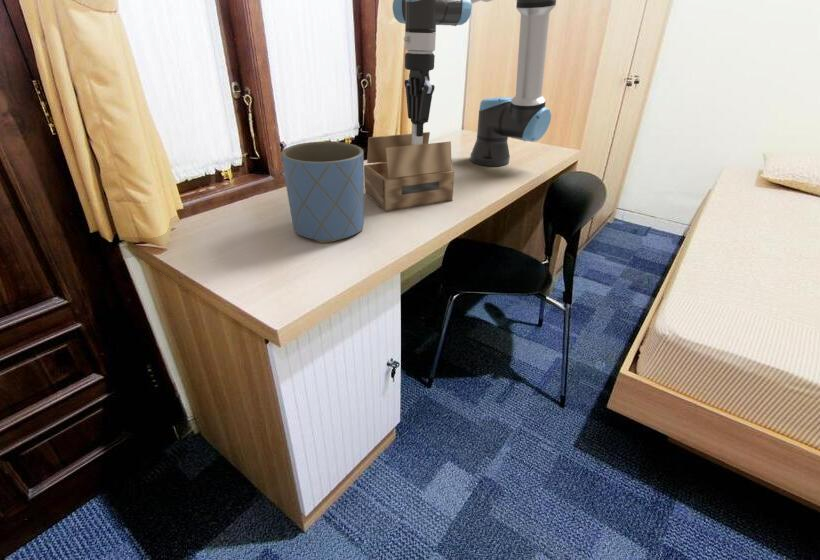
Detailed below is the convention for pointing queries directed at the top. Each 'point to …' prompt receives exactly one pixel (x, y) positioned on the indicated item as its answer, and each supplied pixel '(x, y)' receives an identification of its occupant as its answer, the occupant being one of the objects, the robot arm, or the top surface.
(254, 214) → the top surface
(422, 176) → the carton
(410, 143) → the far flap
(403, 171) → the near flap
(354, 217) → the planter
